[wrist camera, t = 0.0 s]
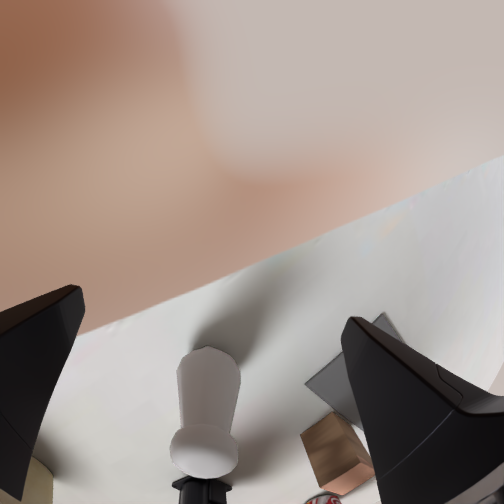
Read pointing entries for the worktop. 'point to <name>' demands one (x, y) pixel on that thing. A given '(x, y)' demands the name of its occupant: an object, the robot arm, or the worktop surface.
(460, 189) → the worktop surface
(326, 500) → the soda can
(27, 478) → the plant pot
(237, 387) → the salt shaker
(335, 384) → the rubber mat
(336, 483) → the walnut block
